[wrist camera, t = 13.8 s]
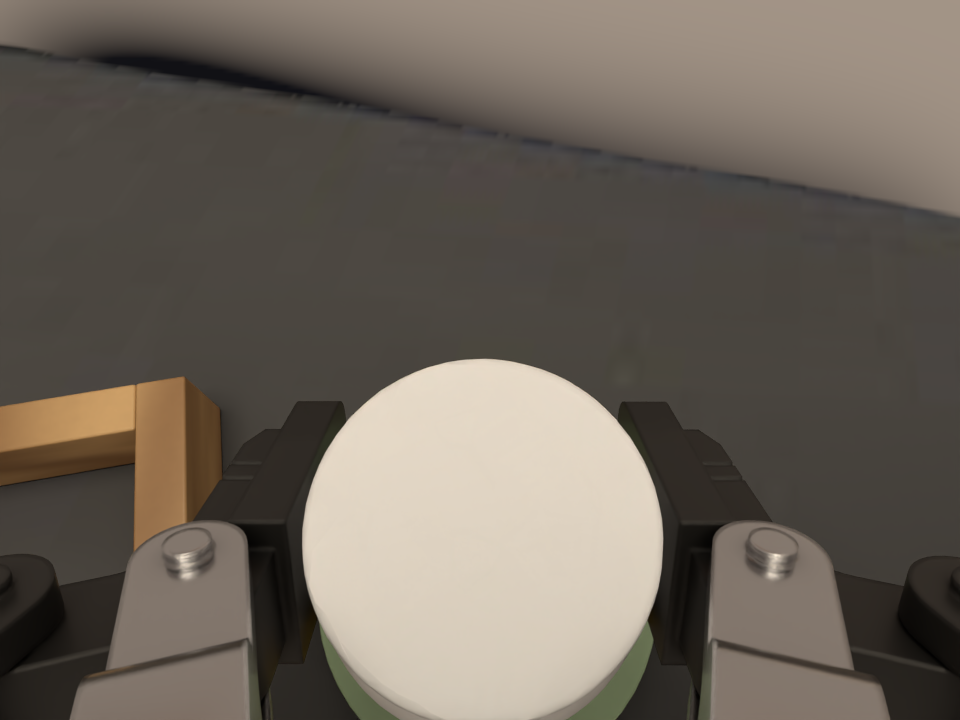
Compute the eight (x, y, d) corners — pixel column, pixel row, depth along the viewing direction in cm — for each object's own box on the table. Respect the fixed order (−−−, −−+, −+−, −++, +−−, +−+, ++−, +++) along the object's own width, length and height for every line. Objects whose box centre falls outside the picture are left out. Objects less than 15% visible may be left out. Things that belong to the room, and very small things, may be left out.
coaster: (607, 403, 19) (610, 398, 19) (696, 738, 16) (701, 740, 16) (307, 455, 19) (304, 451, 18) (337, 812, 15) (333, 816, 15)
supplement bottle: (399, 466, 16) (327, 295, 8) (598, 498, 16) (712, 352, 8) (351, 687, 14) (204, 726, 7) (576, 728, 14) (696, 819, 6)
